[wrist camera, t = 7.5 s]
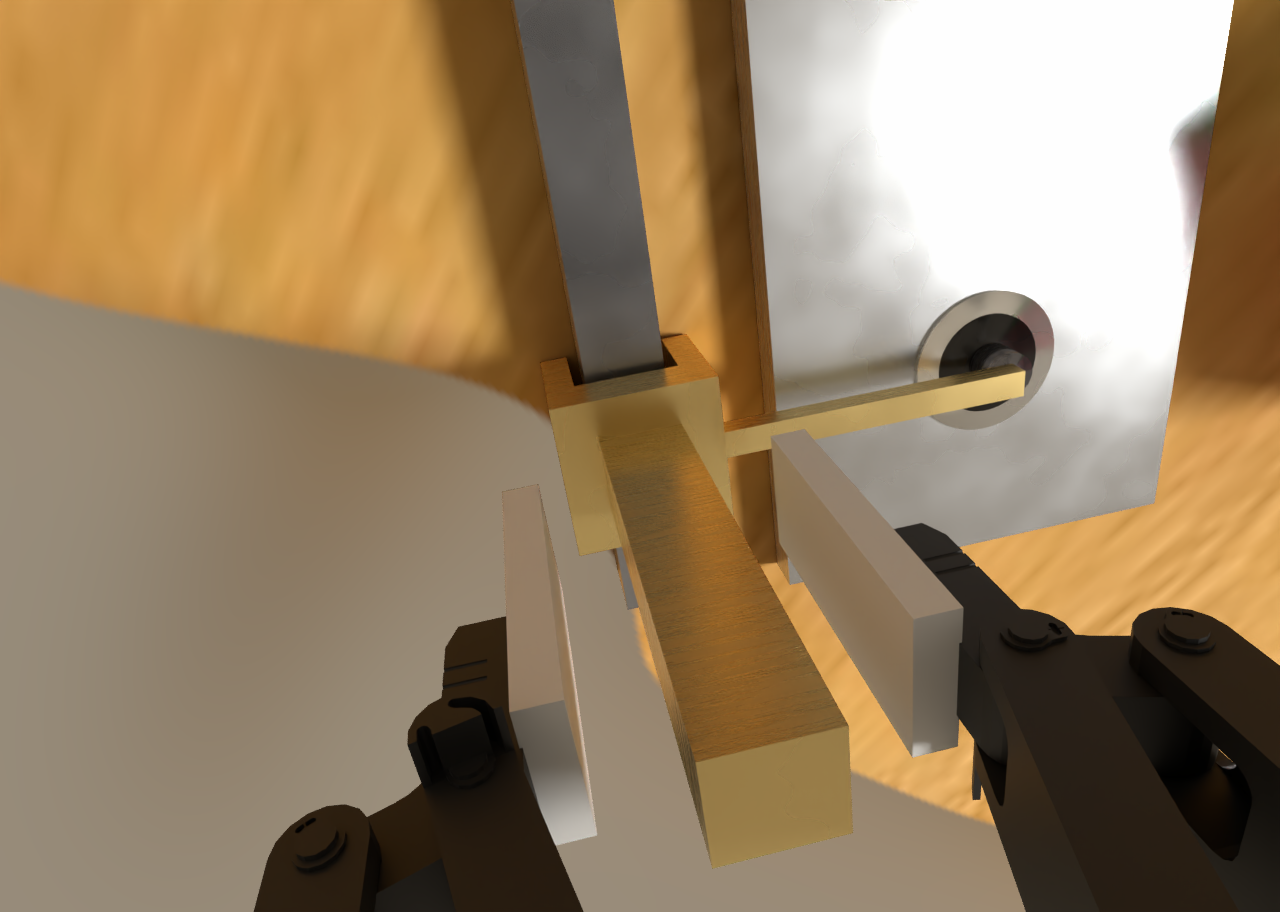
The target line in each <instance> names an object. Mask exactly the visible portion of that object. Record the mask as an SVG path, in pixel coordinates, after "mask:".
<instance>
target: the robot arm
mask: <svg viewBox="0 0 1280 912" xmlns="http://www.w3.org/2000/svg"><path fill="white" fill-rule="evenodd" d="M771 446H772V458H773V471H774V483H775V496H776V508H777V520H778V533H779V543H780V545H781V546H782V548H783V550H784V551H785V553H786V554H787V556H788V558H789V559H790V561H791V562H792V564H793V566H794V567H795V569H796V571H797V572H798V574H799V575H800V577H801V579H802V580H803V582H804V583H805V585H806V587H807V588H808V590H809V592H810V593H811V595H812V596H813V598H814V600H815V601H816V603H817V604H818V606H819V608H820V609H821V611H822V612H823V614H824V616H825V617H826V619H827V621H828V622H829V624H830V625H831V627H832V629H833V630H834V632H835V633H836V635H837V637H838V638H839V640H840V641H841V643H842V645H843V646H844V648H845V650H846V651H847V653H848V654H849V656H850V658H851V659H852V661H853V662H854V664H855V666H856V667H857V669H858V671H859V672H860V674H861V675H862V677H863V679H864V680H865V682H866V683H867V685H868V687H869V688H870V690H871V691H872V693H873V695H874V696H875V698H876V700H877V701H878V703H879V704H880V706H881V708H882V709H883V711H884V712H885V714H886V716H887V717H888V719H889V720H890V722H891V724H892V725H893V727H894V729H895V730H896V732H897V733H898V735H899V737H900V738H901V740H902V741H903V743H904V745H905V746H906V748H907V750H908V751H909V753H910V754H911V756H912V758H913V757H917V756H921V755H925V754H929V753H933V752H937V751H941V750H945V749H949V748H953V747H957V746H958V731H959V719H960V720H961V722H962V723H963V725H964V726H965V727H966V729H967V730H968V731H969V733H970V734H971V736H972V737H973V738H974V755H973V774H972V796H973V800H980V796H981V785H982V787H983V790H984V793H985V796H986V799H987V802H988V804H989V807H990V810H991V813H992V816H993V819H994V822H995V824H996V827H997V830H998V833H999V836H1000V839H1001V841H1002V844H1003V847H1004V850H1005V853H1006V856H1007V859H1008V862H1009V864H1010V867H1011V870H1012V873H1013V876H1014V879H1015V881H1016V884H1017V887H1018V890H1019V893H1020V896H1021V898H1022V902H1023V905H1024V907H1025V910H1026V912H1280V666H1279V665H1278V664H1277V663H1276V662H1274V661H1273V660H1272V659H1270V658H1269V657H1268V656H1266V655H1265V654H1264V653H1262V652H1261V651H1260V650H1259V649H1257V648H1256V647H1255V646H1253V645H1252V644H1251V643H1249V642H1248V641H1247V640H1246V639H1244V638H1243V637H1242V636H1240V635H1239V634H1238V633H1236V632H1235V631H1234V630H1232V629H1231V628H1230V627H1229V626H1227V625H1225V624H1223V623H1222V622H1220V621H1218V620H1217V619H1215V618H1213V617H1211V616H1208V615H1205V614H1202V613H1199V612H1196V611H1193V610H1188V609H1181V608H1173V607H1168V608H1156V609H1151V610H1148V611H1146V612H1144V613H1141V614H1139V615H1138V617H1137V618H1136V619H1135V621H1134V622H1133V624H1132V630H1131V636H1086V635H1075V634H1074V633H1073V632H1072V630H1071V629H1070V628H1069V627H1068V626H1067V625H1066V624H1065V623H1064V622H1062V621H1060V620H1058V619H1056V618H1055V617H1053V616H1051V615H1049V614H1045V613H1041V612H1038V611H1034V610H1027V609H1020V608H1019V607H1018V606H1017V605H1016V604H1015V603H1014V602H1013V601H1012V600H1011V599H1010V598H1009V597H1008V596H1007V595H1006V594H1005V593H1004V592H1003V591H1002V590H1001V589H1000V588H999V587H998V586H997V585H996V584H995V583H994V582H993V581H992V580H991V579H990V578H989V577H988V576H987V575H986V574H985V573H984V572H983V571H982V570H981V569H980V568H979V567H976V566H975V563H974V562H973V561H972V560H971V559H970V558H969V557H968V556H967V555H966V554H963V552H962V550H961V549H960V548H959V547H958V546H957V545H956V544H955V543H954V542H953V541H952V540H951V539H950V538H949V537H948V536H947V535H946V534H944V533H942V532H940V531H938V530H936V529H934V528H932V527H930V526H928V525H926V524H924V523H919V524H914V525H910V526H905V527H901V528H896V529H893V528H892V527H891V526H890V525H889V523H888V522H887V521H886V520H885V519H884V518H883V517H882V516H881V514H880V513H879V512H878V511H877V510H876V509H875V508H874V507H873V505H872V504H871V503H870V502H869V501H868V500H867V499H866V498H865V496H864V495H863V494H862V493H861V492H860V491H859V490H858V489H857V487H856V486H855V485H854V484H853V483H852V482H851V481H850V480H849V478H848V477H847V476H846V475H845V474H844V473H843V472H842V471H841V469H840V468H839V467H838V466H837V465H836V464H835V463H834V462H833V460H832V459H831V458H830V457H829V456H828V455H827V454H826V453H825V452H824V450H823V449H822V448H821V447H820V446H819V445H818V444H817V443H816V441H815V440H814V439H813V438H812V437H811V436H810V435H809V434H808V432H807V431H806V430H805V429H803V430H798V431H793V432H788V433H783V434H779V435H774V436H771ZM502 499H503V529H504V530H503V531H504V562H505V592H506V617H501V618H496V619H492V620H487V621H483V622H479V623H474V624H469V625H465V626H460V627H458V628H457V630H456V632H455V633H454V635H453V636H452V638H451V640H450V641H449V643H448V645H447V646H446V648H445V660H444V673H443V690H442V698H441V699H439V700H437V701H435V702H433V703H431V704H430V705H428V706H427V707H426V708H425V709H424V710H423V711H422V712H421V713H420V714H419V715H418V716H416V718H415V720H414V721H413V723H412V725H411V727H410V729H409V731H408V747H409V750H410V753H411V756H412V758H413V761H414V764H415V767H416V769H417V772H418V775H419V777H420V780H421V784H420V785H419V786H418V787H417V788H416V789H414V790H413V791H412V792H411V793H410V794H409V795H407V796H406V797H404V798H402V799H401V800H399V801H397V802H396V803H394V804H392V805H390V806H388V807H386V808H384V809H382V810H380V811H378V812H377V813H374V814H373V815H370V816H368V817H366V816H365V815H364V813H363V812H362V811H361V810H360V809H358V808H355V807H352V806H349V805H334V806H326V807H324V808H321V809H319V810H316V811H314V812H311V813H309V814H307V815H305V816H304V817H302V818H301V819H300V820H298V821H297V822H295V823H294V824H292V825H291V826H290V827H289V828H288V829H287V830H286V831H285V832H284V833H283V835H282V836H281V837H280V838H279V839H278V840H277V841H276V843H275V845H274V847H273V849H272V851H271V853H270V855H269V857H268V860H267V863H266V867H265V871H264V875H263V879H262V882H261V886H260V890H259V894H258V897H257V901H256V906H255V909H254V912H583V910H582V907H581V905H580V902H579V900H578V898H577V895H576V893H575V891H574V888H573V886H572V883H571V881H570V879H569V877H568V874H567V872H566V869H565V867H564V865H563V863H562V860H561V858H560V856H559V853H558V850H557V848H556V845H559V844H564V843H568V842H572V841H576V840H580V839H584V838H588V837H592V836H596V835H597V831H596V823H595V816H594V809H593V802H592V795H591V788H590V782H589V774H588V767H587V760H586V753H585V746H584V739H583V732H582V725H581V718H580V711H579V704H578V697H577V690H576V683H575V676H574V669H573V662H572V654H571V647H570V641H569V633H568V626H567V620H566V613H565V606H564V599H563V592H562V587H561V582H560V578H559V573H558V569H557V565H556V561H555V556H554V551H553V547H552V543H551V538H550V534H549V530H548V526H547V521H546V516H545V512H544V508H543V504H542V499H541V495H540V490H539V486H538V484H537V485H532V486H528V487H522V488H518V489H513V490H508V491H503V492H502ZM1219 749H1220V750H1221V751H1222V752H1223V753H1224V754H1225V755H1226V756H1227V757H1228V758H1229V759H1230V760H1229V759H1228V758H1227V757H1226V756H1225V755H1224V754H1223V753H1222V752H1221V751H1220V750H1219ZM1232 761H1233V762H1232Z"/></svg>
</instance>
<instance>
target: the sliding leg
mask: <svg viewBox="0 0 1280 912" xmlns="http://www.w3.org/2000/svg"><path fill="white" fill-rule="evenodd" d="M661 343H662V350H663V357H664V364H665V368H664V369H659V370H654V371H649V372H644V373H638V374H633V375H628V376H623V377H618V378H613V379H608V380H603V381H598V382H593V383H588V384H583V385H578V386H574V385H573V381H572V377H571V374H570V370H569V366H568V363H567V359H566V357H565V358H560V359H555V360H550V361H545V362H540V364H541V370H542V376H543V381H544V387H545V392H546V398H547V404H548V409H549V414H550V419H551V424H552V428H553V433H554V438H555V442H556V447H557V452H558V457H559V461H560V466H561V470H562V475H563V480H564V485H565V490H566V494H567V499H568V504H569V509H570V513H571V518H572V523H573V527H574V532H575V537H576V541H577V546H578V551H579V555H580V556H582V555H587V554H591V553H596V552H601V551H605V550H610V549H615V548H619V547H622V549H623V553H624V556H625V560H626V564H627V567H628V571H629V574H630V578H631V581H632V585H633V588H634V592H635V596H636V599H637V603H638V606H639V610H640V613H641V617H642V620H643V624H644V628H645V631H646V635H647V638H648V642H649V645H650V649H651V652H652V656H653V660H654V663H655V667H656V670H657V674H658V677H659V681H660V684H661V688H662V692H663V695H664V698H665V702H666V706H667V709H668V713H669V716H670V720H671V723H672V727H673V731H674V734H675V738H676V741H677V745H678V748H679V752H680V756H681V759H682V763H683V766H684V769H685V773H686V777H687V780H688V784H689V788H690V791H691V795H692V798H693V801H694V805H695V809H696V812H697V816H698V820H699V823H700V826H701V830H702V834H703V837H704V841H705V844H706V848H707V851H708V855H709V859H710V862H711V865H712V869H713V868H717V867H720V866H725V865H728V864H733V863H736V862H741V861H744V860H748V859H752V858H756V857H760V856H764V855H768V854H772V853H776V852H780V851H784V850H788V849H792V848H795V847H799V846H804V845H808V844H811V843H816V842H820V841H823V840H827V839H831V838H835V837H839V836H843V835H847V834H851V833H853V825H852V799H851V775H850V750H849V726H848V724H847V722H846V720H845V718H844V717H843V715H842V713H841V711H840V709H839V708H838V706H837V704H836V702H835V700H834V699H833V697H832V695H831V693H830V691H829V689H828V688H827V686H826V684H825V682H824V680H823V679H822V677H821V675H820V673H819V671H818V670H817V668H816V666H815V664H814V662H813V660H812V659H811V657H810V655H809V653H808V651H807V650H806V648H805V646H804V644H803V642H802V641H801V639H800V637H799V635H798V633H797V632H796V630H795V628H794V626H793V624H792V622H791V621H790V619H789V617H788V615H787V613H786V612H785V610H784V608H783V606H782V604H781V603H780V601H779V599H778V597H777V595H776V593H775V592H774V590H773V588H772V586H771V584H770V583H769V581H768V579H767V577H766V575H765V574H764V572H763V570H762V568H761V566H760V565H759V563H758V561H757V559H756V557H755V555H754V554H753V552H752V550H751V548H750V546H749V545H748V543H747V541H746V539H745V537H744V536H743V534H742V532H741V530H740V528H739V526H738V525H737V523H736V521H735V519H734V516H733V506H732V497H731V488H730V479H729V470H728V460H727V458H729V457H734V456H739V455H743V454H748V453H753V452H758V451H763V450H767V449H772V446H771V436H774V435H779V434H783V433H788V432H793V431H798V430H803V429H805V430H806V431H807V432H808V434H809V435H810V436H811V437H812V438H813V439H814V440H815V439H820V438H825V437H830V436H835V435H839V434H844V433H849V432H854V431H859V430H863V429H868V428H873V427H878V426H883V425H887V424H892V423H897V422H902V421H907V420H911V419H916V418H921V417H926V416H931V415H935V414H940V413H945V412H950V411H955V410H959V409H964V408H969V407H974V406H979V405H983V404H988V403H993V402H998V401H1003V400H1007V399H1012V398H1017V397H1022V396H1024V388H1025V387H1026V386H1027V385H1028V383H1029V381H1030V379H1031V377H1032V371H1033V368H1032V364H1031V361H1030V360H1029V359H1028V358H1027V357H1026V356H1024V355H1022V354H1020V353H1018V352H1017V351H1015V350H1013V349H1011V348H1009V347H1007V346H1005V345H1003V344H1001V343H989V344H987V345H984V346H983V347H981V348H980V349H979V350H978V351H977V352H976V353H975V354H974V356H973V358H972V360H971V363H970V372H967V373H962V374H957V375H952V376H948V377H943V378H938V379H933V380H928V381H923V382H918V383H913V384H908V385H904V386H899V387H894V388H889V389H884V390H879V391H874V392H869V393H864V394H859V395H855V396H850V397H845V398H840V399H835V400H830V401H825V402H820V403H815V404H811V405H806V406H801V407H796V408H791V409H786V410H781V411H776V412H771V413H766V414H762V415H757V416H752V417H747V418H742V419H737V420H732V421H727V422H723V414H722V405H721V396H720V387H719V377H718V375H717V374H716V373H715V371H714V370H713V369H712V367H711V366H710V365H709V363H708V362H707V361H706V359H705V358H704V357H703V355H702V354H701V353H700V352H699V350H698V349H697V348H696V346H695V345H694V344H693V342H692V341H691V340H690V338H689V337H688V336H687V334H684V335H679V336H674V337H669V338H663V339H661Z"/></svg>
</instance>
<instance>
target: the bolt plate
mask: <svg viewBox="0 0 1280 912" xmlns="http://www.w3.org/2000/svg"><path fill="white" fill-rule="evenodd" d="M730 1H731V13H732V25H733V37H734V49H735V61H736V73H737V85H738V97H739V109H740V121H741V133H742V145H743V157H744V169H745V181H746V193H747V205H748V217H749V229H750V241H751V253H752V265H753V278H754V290H755V302H756V314H757V326H758V338H759V350H760V362H761V374H762V386H763V398H764V410H765V414H766V413H771V412H776V411H781V410H786V409H791V408H796V407H801V406H806V405H811V404H815V403H820V402H825V401H830V400H835V399H840V398H845V397H850V396H855V395H859V394H864V393H869V392H874V391H879V390H884V389H889V388H894V387H899V386H904V385H908V384H913V383H918V382H923V381H928V380H933V379H938V378H943V377H948V376H952V375H957V374H962V373H967V372H970V363H971V360H972V358H973V356H974V354H975V353H976V352H977V351H978V350H979V349H980V348H981V347H983V346H984V345H987V344H989V343H1001V344H1003V345H1005V346H1007V347H1009V348H1011V349H1013V350H1015V351H1017V352H1018V353H1020V354H1022V355H1024V356H1026V357H1027V358H1028V359H1029V360H1030V361H1031V364H1032V368H1033V371H1032V377H1031V379H1030V381H1029V383H1028V385H1027V386H1026V387H1025V388H1024V396H1022V397H1017V398H1012V399H1007V400H1003V401H998V402H993V403H988V404H983V405H979V406H974V407H969V408H964V409H959V410H955V411H950V412H945V413H940V414H935V415H931V416H926V417H921V418H916V419H911V420H907V421H902V422H897V423H892V424H887V425H883V426H878V427H873V428H868V429H863V430H859V431H854V432H849V433H844V434H839V435H835V436H830V437H825V438H820V439H815V441H816V443H817V444H818V445H819V446H820V447H821V448H822V449H823V450H824V452H825V453H826V454H827V455H828V456H829V457H830V458H831V459H832V460H833V462H834V463H835V464H836V465H837V466H838V467H839V468H840V469H841V471H842V472H843V473H844V474H845V475H846V476H847V477H848V478H849V480H850V481H851V482H852V483H853V484H854V485H855V486H856V487H857V489H858V490H859V491H860V492H861V493H862V494H863V495H864V496H865V498H866V499H867V500H868V501H869V502H870V503H871V504H872V505H873V507H874V508H875V509H876V510H877V511H878V512H879V513H880V514H881V516H882V517H883V518H884V519H885V520H886V521H887V522H888V523H889V525H890V526H891V527H892V528H893V529H896V528H901V527H905V526H910V525H914V524H919V523H924V524H926V525H928V526H930V527H932V528H934V529H936V530H938V531H940V532H942V533H944V534H946V535H947V536H948V537H949V538H950V539H951V540H952V541H953V542H954V543H955V544H956V545H957V546H958V547H961V546H966V545H970V544H974V543H979V542H983V541H988V540H992V539H997V538H1001V537H1006V536H1010V535H1015V534H1019V533H1024V532H1028V531H1033V530H1037V529H1041V528H1046V527H1050V526H1055V525H1059V524H1064V523H1068V522H1073V521H1077V520H1082V519H1086V518H1091V517H1095V516H1100V515H1104V514H1108V513H1113V512H1117V511H1122V510H1126V509H1131V508H1135V507H1140V506H1144V505H1149V504H1153V503H1154V501H1155V495H1156V489H1157V482H1158V476H1159V470H1160V463H1161V457H1162V451H1163V444H1164V438H1165V432H1166V425H1167V419H1168V413H1169V406H1170V400H1171V394H1172V387H1173V381H1174V375H1175V368H1176V362H1177V356H1178V349H1179V343H1180V337H1181V330H1182V324H1183V318H1184V311H1185V305H1186V299H1187V292H1188V286H1189V280H1190V273H1191V267H1192V261H1193V254H1194V248H1195V242H1196V235H1197V229H1198V223H1199V216H1200V210H1201V204H1202V197H1203V191H1204V185H1205V178H1206V172H1207V166H1208V159H1209V153H1210V147H1211V140H1212V134H1213V128H1214V121H1215V115H1216V109H1217V102H1218V96H1219V90H1220V83H1221V77H1222V71H1223V64H1224V58H1225V52H1226V45H1227V39H1228V33H1229V26H1230V20H1231V14H1232V7H1233V1H1234V0H730ZM768 458H769V470H770V482H771V494H772V506H773V518H774V530H775V542H776V554H777V564H778V566H779V567H780V569H781V571H782V572H783V574H784V576H785V578H786V579H787V581H788V583H789V584H790V585H791V584H796V583H800V582H803V580H802V579H801V577H800V575H799V574H798V572H797V571H796V569H795V567H794V566H793V564H792V562H791V561H790V559H789V558H788V556H787V554H786V553H785V551H784V550H783V548H782V546H781V545H780V543H779V533H778V520H777V508H776V496H775V483H774V471H773V458H772V449H768Z"/></svg>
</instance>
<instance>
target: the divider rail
mask: <svg viewBox="0 0 1280 912" xmlns="http://www.w3.org/2000/svg"><path fill="white" fill-rule="evenodd" d="M510 3H511V8H512V13H513V18H514V24H515V29H516V34H517V40H518V45H519V50H520V56H521V61H522V66H523V71H524V77H525V82H526V87H527V93H528V98H529V103H530V109H531V114H532V119H533V124H534V130H535V135H536V140H537V146H538V151H539V156H540V162H541V167H542V172H543V177H544V183H545V188H546V193H547V199H548V204H549V209H550V215H551V220H552V225H553V230H554V236H555V241H556V246H557V252H558V257H559V262H560V268H561V273H562V278H563V283H564V289H565V294H566V299H567V305H568V310H569V315H570V321H571V326H572V331H573V336H574V342H575V347H576V352H577V358H578V363H579V368H580V374H581V379H582V384H588V383H593V382H598V381H603V380H608V379H613V378H618V377H623V376H628V375H633V374H638V373H644V372H649V371H654V370H659V369H664V368H665V367H664V360H663V353H662V346H661V338H660V331H659V324H658V317H657V310H656V302H655V295H654V288H653V281H652V274H651V267H650V259H649V252H648V245H647V238H646V231H645V223H644V216H643V209H642V202H641V195H640V188H639V180H638V173H637V166H636V159H635V152H634V144H633V137H632V130H631V123H630V116H629V108H628V101H627V94H626V87H625V80H624V73H623V65H622V58H621V51H620V44H619V37H618V29H617V22H616V15H615V8H614V1H613V0H510ZM614 554H615V559H616V564H617V570H618V574H619V578H620V582H621V586H622V589H623V593H624V597H625V601H626V605H627V609H628V610H629V609H633V608H638V607H639V606H638V603H637V599H636V596H635V592H634V588H633V585H632V581H631V578H630V574H629V571H628V567H627V564H626V560H625V556H624V553H623V549H622V547H619V548H615V549H614Z"/></svg>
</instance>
